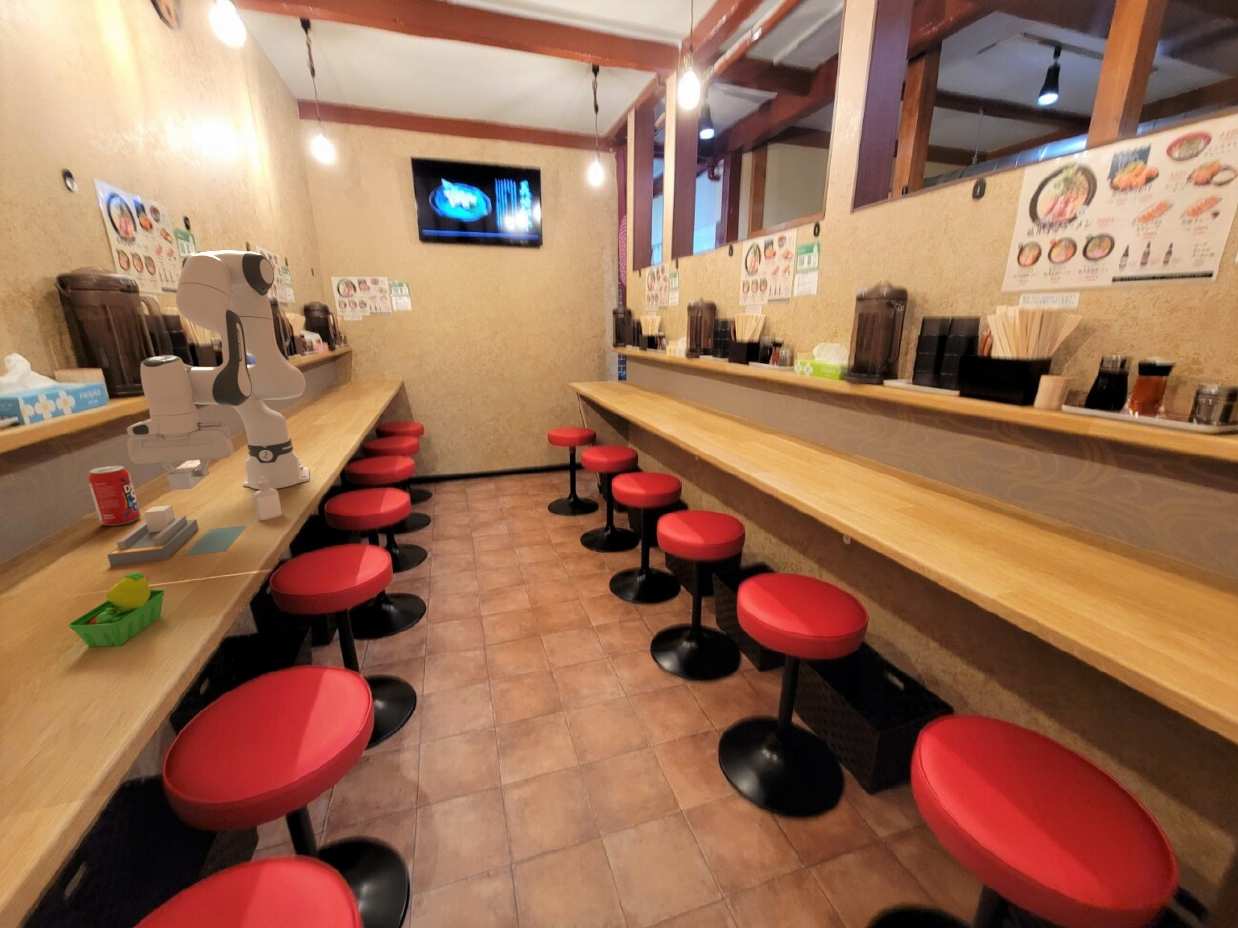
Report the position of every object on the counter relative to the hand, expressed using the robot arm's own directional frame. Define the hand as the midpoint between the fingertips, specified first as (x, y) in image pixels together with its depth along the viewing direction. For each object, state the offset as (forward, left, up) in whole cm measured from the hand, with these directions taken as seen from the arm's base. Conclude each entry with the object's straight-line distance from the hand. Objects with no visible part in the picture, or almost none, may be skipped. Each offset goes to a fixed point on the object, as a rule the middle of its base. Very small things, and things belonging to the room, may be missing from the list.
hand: (189, 476), depth 127 cm
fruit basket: (+48, +5, -15) cm, 51 cm away
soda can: (-12, -22, -15) cm, 29 cm away
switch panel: (+9, -6, -14) cm, 18 cm away
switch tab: (+5, -6, -11) cm, 14 cm away
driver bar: (0, 0, -1) cm, 1 cm away
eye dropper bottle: (-4, +14, -15) cm, 21 cm away
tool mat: (+9, +6, -15) cm, 18 cm away
